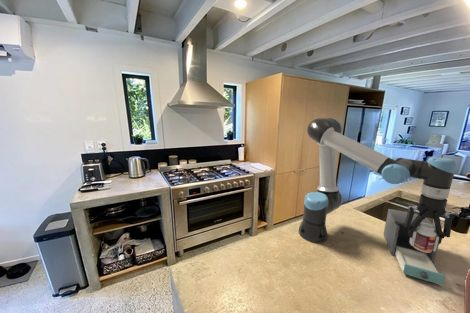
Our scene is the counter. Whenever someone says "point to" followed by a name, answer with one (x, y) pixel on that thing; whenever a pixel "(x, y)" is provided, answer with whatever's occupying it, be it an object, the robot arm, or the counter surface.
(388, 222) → the housing
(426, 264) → the tray
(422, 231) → the pill bottle
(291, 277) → the counter surface
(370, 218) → the counter surface
